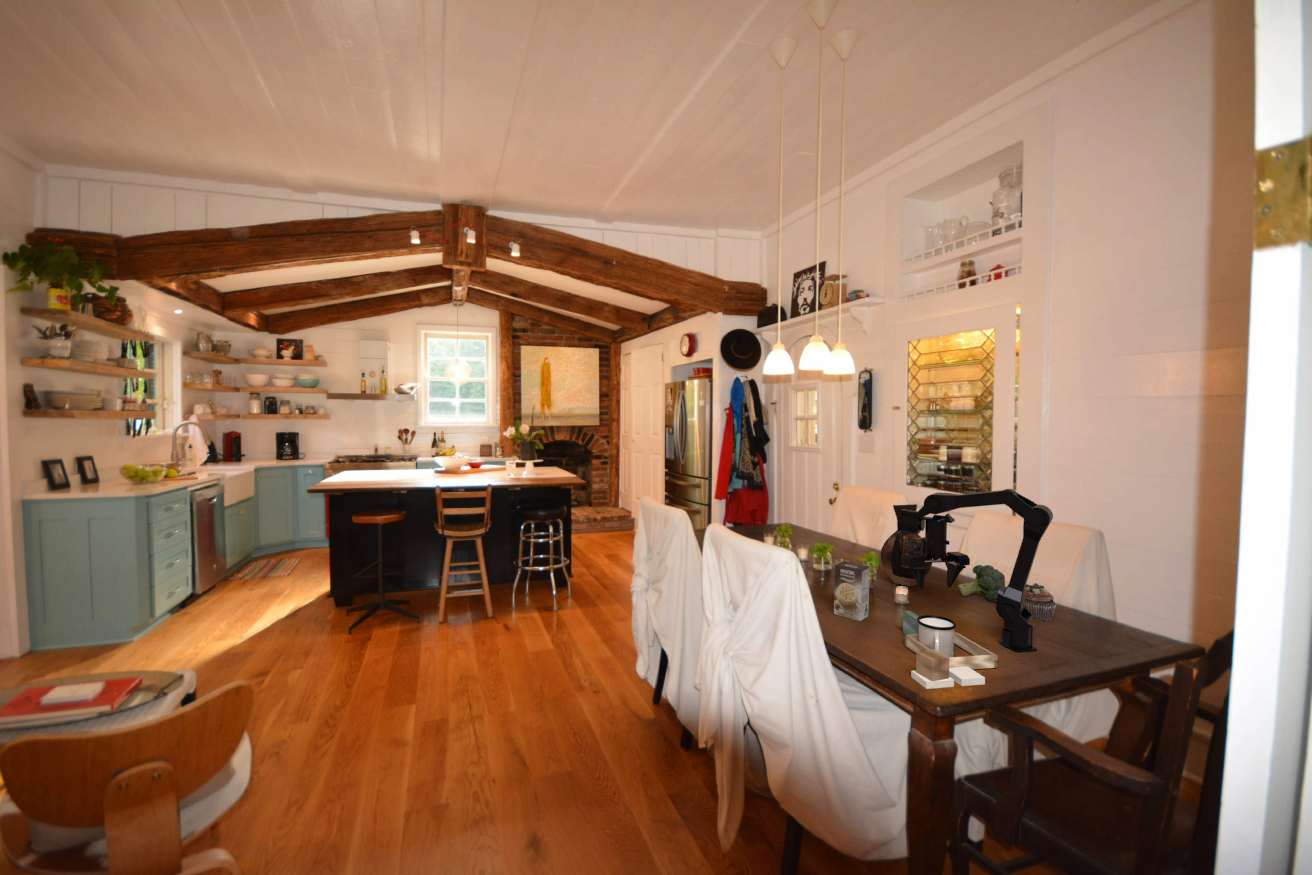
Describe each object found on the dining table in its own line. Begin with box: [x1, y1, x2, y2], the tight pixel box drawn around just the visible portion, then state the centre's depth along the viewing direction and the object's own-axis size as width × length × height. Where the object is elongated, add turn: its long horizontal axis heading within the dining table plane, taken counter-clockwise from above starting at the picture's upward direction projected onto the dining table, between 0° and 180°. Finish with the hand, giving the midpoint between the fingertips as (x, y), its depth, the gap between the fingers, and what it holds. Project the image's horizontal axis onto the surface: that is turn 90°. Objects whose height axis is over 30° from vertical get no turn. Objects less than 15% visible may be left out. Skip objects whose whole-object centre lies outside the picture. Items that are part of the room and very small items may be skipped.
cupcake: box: [1024, 583, 1057, 622], centre depth 181 cm, size 10×10×10 cm
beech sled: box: [902, 610, 998, 670], centre depth 156 cm, size 15×24×6 cm, turn 9°
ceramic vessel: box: [880, 503, 933, 587], centre depth 215 cm, size 21×18×30 cm
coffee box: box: [833, 560, 871, 622], centre depth 182 cm, size 9×6×16 cm
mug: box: [917, 614, 958, 658], centre depth 152 cm, size 12×10×9 cm
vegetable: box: [957, 564, 1006, 603], centre depth 199 cm, size 12×13×15 cm
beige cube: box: [915, 649, 949, 681], centre depth 138 cm, size 5×5×5 cm
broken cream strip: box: [910, 667, 986, 690], centre depth 138 cm, size 15×6×2 cm, turn 99°
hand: (934, 588), depth 171 cm, fingers open, 9 cm apart
